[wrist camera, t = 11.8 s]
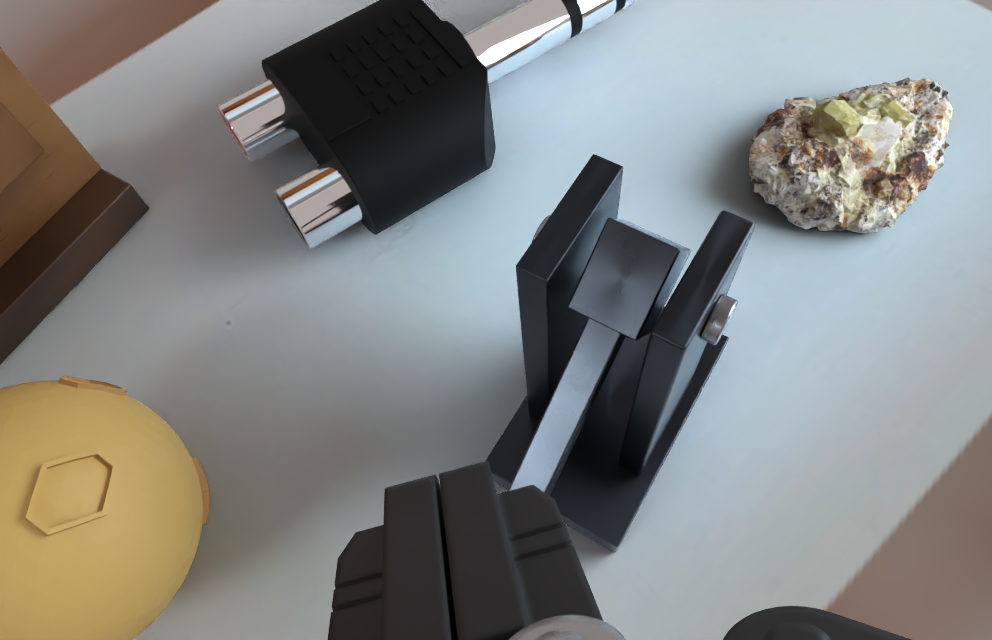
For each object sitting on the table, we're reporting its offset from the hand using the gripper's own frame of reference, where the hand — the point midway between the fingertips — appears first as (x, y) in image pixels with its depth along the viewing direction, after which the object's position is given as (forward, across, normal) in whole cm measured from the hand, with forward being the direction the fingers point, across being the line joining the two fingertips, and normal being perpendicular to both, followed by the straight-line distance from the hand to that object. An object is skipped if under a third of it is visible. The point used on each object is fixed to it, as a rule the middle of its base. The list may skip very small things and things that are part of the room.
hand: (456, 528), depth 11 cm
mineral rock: (+26, +21, -2) cm, 33 cm away
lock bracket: (+19, +6, -8) cm, 22 cm away
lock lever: (+13, +4, -5) cm, 14 cm away
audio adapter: (+32, +6, +5) cm, 33 cm away
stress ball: (+19, -14, -9) cm, 25 cm away
